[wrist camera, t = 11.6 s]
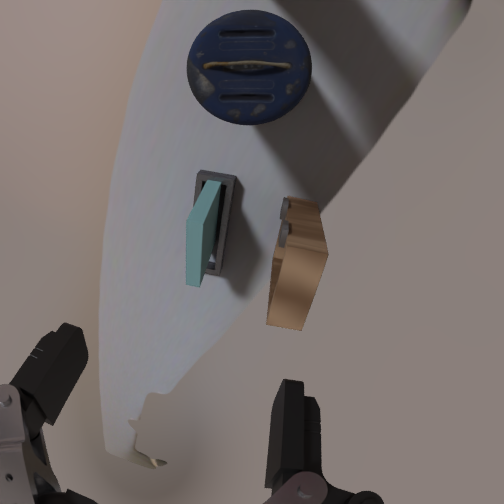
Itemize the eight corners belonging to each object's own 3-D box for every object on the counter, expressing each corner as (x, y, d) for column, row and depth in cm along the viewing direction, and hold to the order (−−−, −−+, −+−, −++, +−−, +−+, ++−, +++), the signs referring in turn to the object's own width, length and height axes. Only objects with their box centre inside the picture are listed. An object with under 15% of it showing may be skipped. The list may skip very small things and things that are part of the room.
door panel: (207, 179, 40) (186, 220, 33) (221, 182, 40) (203, 224, 33) (203, 239, 46) (185, 284, 40) (215, 241, 46) (199, 287, 40)
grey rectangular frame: (200, 169, 41) (196, 173, 40) (236, 176, 41) (233, 180, 40) (191, 262, 49) (187, 269, 47) (221, 268, 49) (219, 275, 47)
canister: (290, 120, 37) (293, 147, 21) (216, 101, 37) (165, 115, 21) (311, 50, 32) (332, 22, 17) (235, 31, 32) (196, -7, 16)
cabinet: (284, 191, 42) (282, 240, 30) (317, 198, 42) (329, 250, 30) (268, 258, 47) (260, 323, 35) (299, 265, 47) (301, 330, 35)
